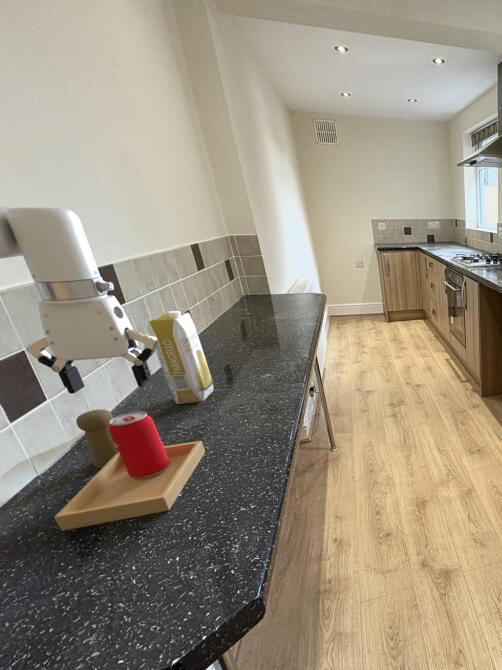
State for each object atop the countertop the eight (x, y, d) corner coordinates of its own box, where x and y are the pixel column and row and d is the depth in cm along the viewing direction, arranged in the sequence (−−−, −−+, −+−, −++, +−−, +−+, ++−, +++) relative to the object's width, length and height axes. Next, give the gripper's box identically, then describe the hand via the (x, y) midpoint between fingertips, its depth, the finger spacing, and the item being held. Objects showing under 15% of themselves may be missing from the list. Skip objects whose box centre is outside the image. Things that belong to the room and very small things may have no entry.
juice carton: (206, 402, 110) (176, 314, 100) (171, 406, 108) (138, 317, 98) (218, 389, 118) (192, 306, 109) (186, 392, 116) (157, 308, 106)
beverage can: (163, 459, 84) (141, 406, 79) (177, 468, 81) (156, 414, 76) (124, 474, 79) (99, 420, 74) (138, 485, 76) (113, 428, 71)
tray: (61, 531, 66) (53, 517, 65) (121, 465, 83) (116, 453, 82) (169, 510, 71) (163, 497, 69) (205, 451, 88) (201, 440, 86)
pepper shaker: (85, 465, 83) (61, 417, 79) (118, 449, 88) (97, 404, 84) (108, 469, 82) (85, 421, 77) (139, 453, 87) (119, 407, 83)
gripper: (148, 284, 72) (177, 374, 79) (19, 288, 67) (62, 385, 73) (127, 292, 66) (161, 389, 72) (-17, 297, 60) (34, 402, 67)
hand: (111, 387), depth 73 cm, fingers open, 9 cm apart
